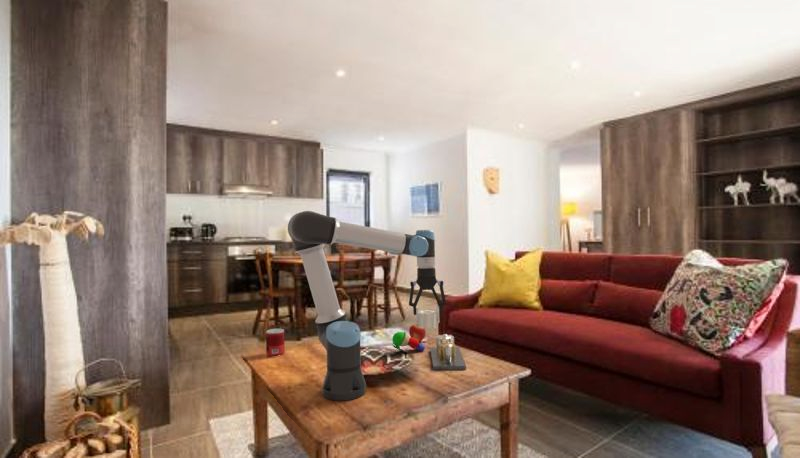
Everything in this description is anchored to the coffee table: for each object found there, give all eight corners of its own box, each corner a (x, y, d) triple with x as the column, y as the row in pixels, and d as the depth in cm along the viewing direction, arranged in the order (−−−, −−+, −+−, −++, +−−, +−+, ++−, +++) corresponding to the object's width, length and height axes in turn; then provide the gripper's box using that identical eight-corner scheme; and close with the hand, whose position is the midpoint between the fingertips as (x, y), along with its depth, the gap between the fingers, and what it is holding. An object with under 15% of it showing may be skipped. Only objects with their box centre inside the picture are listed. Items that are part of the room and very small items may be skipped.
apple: (418, 338, 208) (418, 318, 208) (428, 341, 201) (428, 321, 201) (406, 341, 203) (405, 321, 203) (416, 344, 196) (415, 324, 196)
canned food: (288, 353, 186) (287, 329, 186) (274, 358, 180) (273, 333, 180) (276, 350, 190) (276, 327, 190) (262, 355, 184) (262, 331, 184)
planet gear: (418, 328, 163) (418, 314, 163) (417, 324, 170) (417, 310, 170) (438, 328, 163) (437, 313, 163) (436, 324, 170) (436, 309, 170)
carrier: (433, 369, 161) (432, 348, 161) (430, 350, 186) (430, 332, 186) (466, 369, 160) (465, 348, 160) (458, 350, 185) (458, 332, 185)
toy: (414, 355, 191) (387, 341, 188) (422, 340, 192) (395, 326, 189) (419, 360, 183) (391, 346, 179) (428, 345, 184) (400, 330, 181)
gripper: (400, 268, 163) (402, 325, 163) (452, 267, 163) (454, 323, 163) (401, 267, 170) (402, 321, 170) (450, 265, 170) (452, 319, 170)
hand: (427, 322), depth 167 cm, fingers closed on planet gear, 8 cm apart
